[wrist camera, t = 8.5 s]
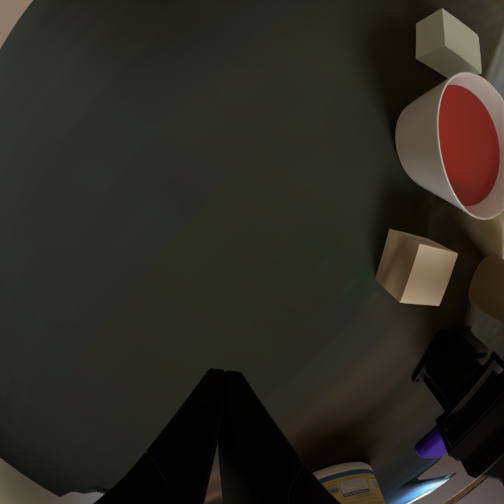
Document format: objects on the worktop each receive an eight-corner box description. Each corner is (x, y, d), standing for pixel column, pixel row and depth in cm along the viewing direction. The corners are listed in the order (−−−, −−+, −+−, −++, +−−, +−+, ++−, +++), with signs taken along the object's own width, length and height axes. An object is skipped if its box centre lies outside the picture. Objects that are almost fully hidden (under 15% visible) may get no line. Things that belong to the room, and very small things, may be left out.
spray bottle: (439, 459, 30) (532, 357, 25) (414, 459, 27) (525, 338, 22) (433, 449, 33) (522, 349, 28) (408, 447, 30) (513, 329, 25)
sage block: (450, 80, 15) (481, 73, 11) (415, 59, 15) (444, 45, 11) (450, 45, 14) (477, 35, 10) (415, 24, 13) (441, 8, 10)
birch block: (412, 284, 20) (439, 305, 16) (374, 278, 20) (399, 302, 16) (426, 238, 19) (457, 253, 15) (389, 228, 19) (419, 243, 15)
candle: (372, 189, 18) (427, 203, 12) (384, 71, 15) (435, 46, 9) (457, 211, 18) (510, 230, 12) (467, 112, 16) (520, 108, 10)
